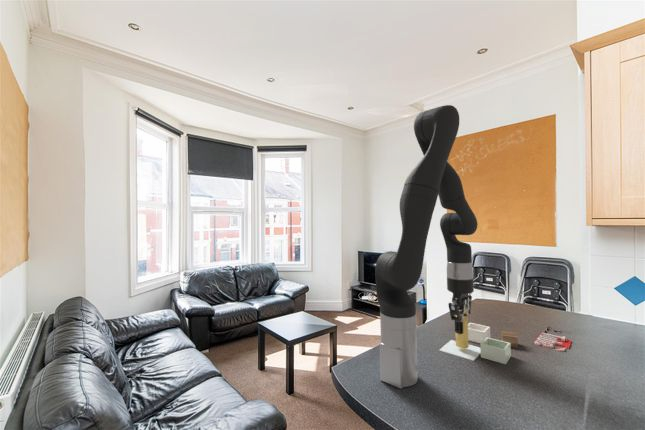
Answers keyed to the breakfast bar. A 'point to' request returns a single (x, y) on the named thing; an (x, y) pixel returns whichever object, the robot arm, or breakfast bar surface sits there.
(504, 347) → the pot green
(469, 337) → the pot white
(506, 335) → the walnut block
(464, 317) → the peg
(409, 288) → the robot arm
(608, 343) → the breakfast bar surface
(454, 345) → the thin white panel
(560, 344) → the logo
